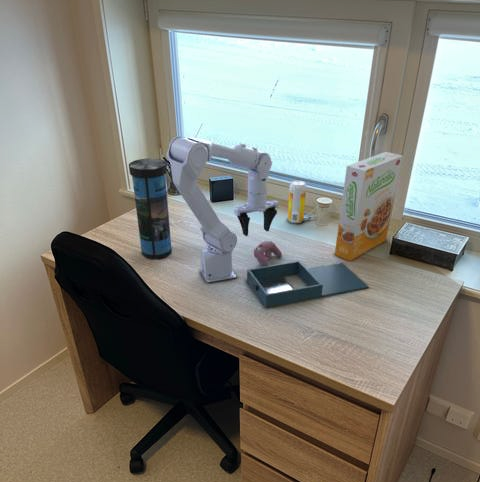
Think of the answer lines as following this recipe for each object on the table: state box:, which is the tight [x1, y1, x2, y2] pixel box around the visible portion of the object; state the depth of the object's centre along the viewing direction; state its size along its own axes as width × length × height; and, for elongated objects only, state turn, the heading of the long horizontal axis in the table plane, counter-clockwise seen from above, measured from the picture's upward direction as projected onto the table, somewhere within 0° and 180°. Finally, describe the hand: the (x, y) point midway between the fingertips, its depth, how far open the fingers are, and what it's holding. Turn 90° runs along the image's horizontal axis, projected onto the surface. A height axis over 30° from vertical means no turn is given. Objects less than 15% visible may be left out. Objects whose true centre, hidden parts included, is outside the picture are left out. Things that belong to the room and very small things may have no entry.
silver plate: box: [258, 276, 293, 294], centre depth 137 cm, size 9×12×1 cm
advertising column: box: [128, 158, 173, 260], centre depth 148 cm, size 11×11×30 cm
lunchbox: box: [246, 260, 369, 309], centre depth 139 cm, size 34×15×4 cm, turn 110°
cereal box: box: [334, 151, 404, 262], centre depth 153 cm, size 22×6×30 cm, turn 135°
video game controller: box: [253, 240, 283, 267], centre depth 151 cm, size 10×5×7 cm, turn 144°
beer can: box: [287, 180, 307, 224], centre depth 175 cm, size 6×6×15 cm
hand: (255, 232), depth 147 cm, fingers open, 7 cm apart
